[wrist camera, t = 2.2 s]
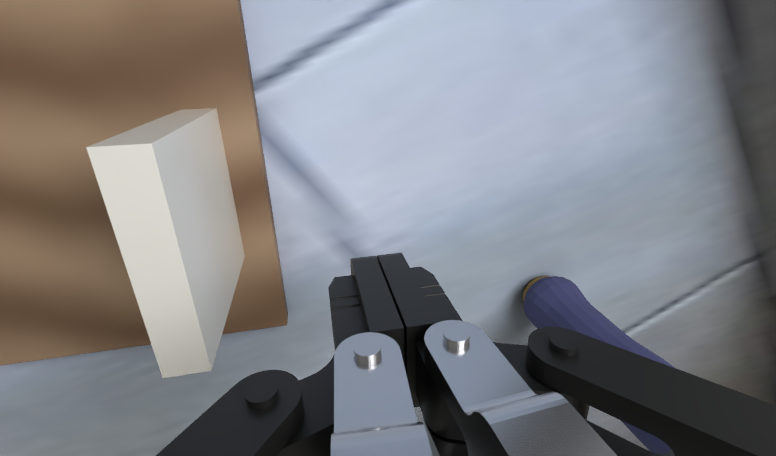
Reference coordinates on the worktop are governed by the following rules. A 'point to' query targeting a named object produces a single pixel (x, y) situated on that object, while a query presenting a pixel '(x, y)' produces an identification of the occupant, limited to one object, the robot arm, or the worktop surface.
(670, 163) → the worktop surface
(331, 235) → the worktop surface
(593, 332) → the rubber mallet
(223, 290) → the block
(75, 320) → the board
